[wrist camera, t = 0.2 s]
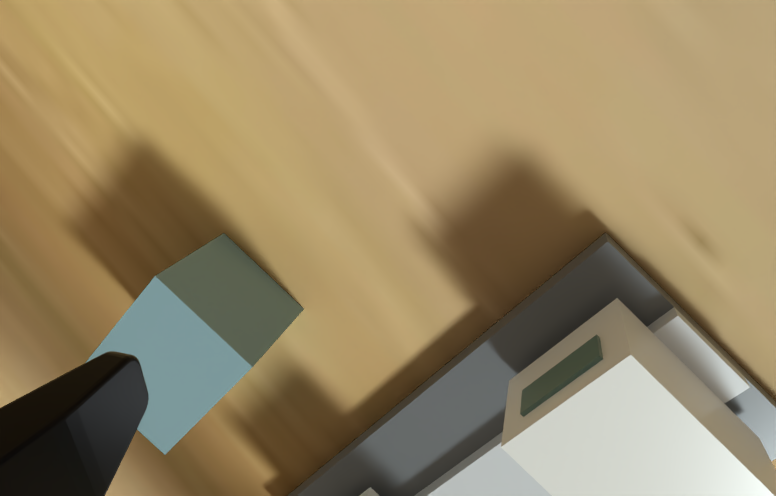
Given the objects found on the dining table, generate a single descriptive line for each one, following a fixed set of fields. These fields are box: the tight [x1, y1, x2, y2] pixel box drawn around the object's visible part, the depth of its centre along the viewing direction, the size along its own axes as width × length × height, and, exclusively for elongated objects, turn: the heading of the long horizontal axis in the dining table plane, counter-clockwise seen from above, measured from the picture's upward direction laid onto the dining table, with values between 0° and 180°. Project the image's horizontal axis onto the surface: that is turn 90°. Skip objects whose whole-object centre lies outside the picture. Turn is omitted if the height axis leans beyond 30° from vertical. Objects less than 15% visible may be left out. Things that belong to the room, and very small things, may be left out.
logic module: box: [86, 233, 304, 455], centre depth 25 cm, size 6×5×5 cm
